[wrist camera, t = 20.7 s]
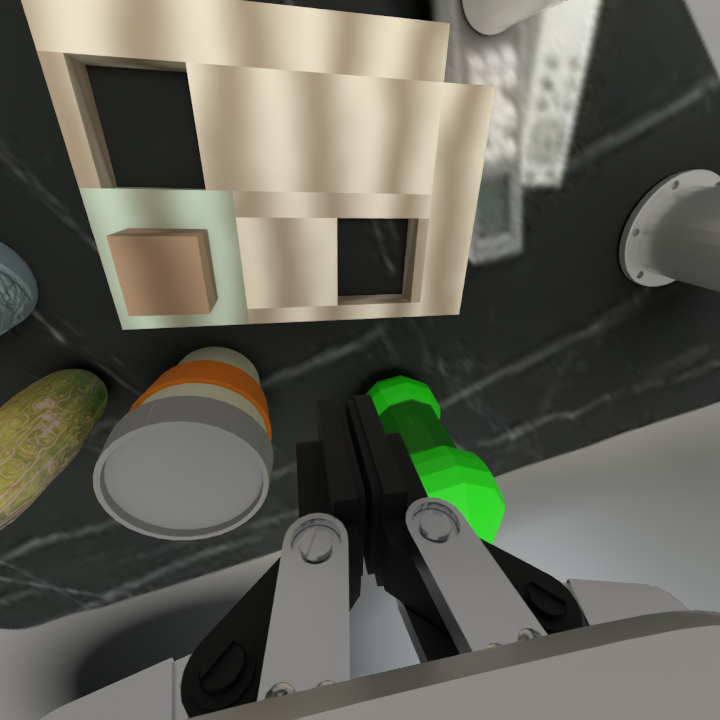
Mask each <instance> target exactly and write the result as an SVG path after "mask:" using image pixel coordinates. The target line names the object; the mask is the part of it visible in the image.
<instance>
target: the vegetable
mask: <svg viewBox="0 0 720 720" xmlns="http://www.w3.org/2000/svg"><path fill="white" fill-rule="evenodd" d="M107 398H108V393H107V388H106V386H105V384H104V383H103V381H102V380H101V379H100V378H98V377H97V376H96V375H95V374H93V373H91V372H89V371H86V370H82V369H66V370H61V371H57V372H54V373H51V374H49V375H47V376H45V377H43V378H41V379H40V380H38V381H36V382H34V383H33V384H31V385H30V386H28V387H27V388H25V389H24V390H22V391H21V392H19V393H18V394H16V395H15V396H14V397H13V398H11V399H10V400H9V401H8V402H7V403H5V404H4V405H3V406H2V407H1V408H0V530H1V529H3V528H4V527H6V526H7V525H8V524H10V523H11V522H13V521H14V520H15V519H16V518H17V517H18V516H19V515H20V514H21V513H22V512H24V511H25V510H26V509H27V508H28V507H29V506H30V505H31V504H32V503H33V502H34V501H35V499H36V498H37V497H38V496H39V495H40V494H41V493H42V492H43V491H44V490H45V488H46V487H47V486H48V485H49V484H50V483H51V482H52V481H53V480H54V479H55V478H56V477H57V476H58V475H59V474H60V473H61V472H62V471H63V470H64V469H65V468H66V467H67V466H68V464H69V463H70V462H71V461H72V460H73V458H74V457H75V456H76V455H77V454H78V452H79V451H80V450H81V448H82V447H83V445H84V444H85V442H86V441H87V439H88V437H89V436H90V434H91V433H92V431H93V429H94V427H95V426H96V424H97V422H98V421H99V419H100V418H101V416H102V414H103V412H104V410H105V407H106V404H107Z"/></svg>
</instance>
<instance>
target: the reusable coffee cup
mask: <svg viewBox="0 0 720 720" xmlns="http://www.w3.org/2000/svg"><path fill="white" fill-rule="evenodd" d="M273 460H274V459H273V448H272V445H271V425H270V419H269V412H268V406H267V401H266V398H265V394H264V392H263V390H262V389H261V386H260V379H259V375H258V372H257V370H256V368H255V367H254V365H253V364H252V363H251V362H250V360H249V359H247V358H246V357H245V356H244V355H242V354H240V353H238V352H236V351H234V350H231V349H228V348H223V347H206V348H200V349H198V350H195V351H193V352H191V353H190V354H188V355H187V356H185V357H184V358H183V359H182V360H181V361H180V362H179V364H178V365H177V366H174V367H172V368H171V369H169V370H168V371H166V372H165V373H163V374H162V375H161V376H160V377H159V378H158V379H157V380H156V381H155V382H154V383H153V384H152V385H151V386H150V387H149V388H148V390H147V391H146V392H145V393H144V394H143V395H142V396H141V397H140V398H139V399H138V400H137V401H136V402H135V403H134V404H133V406H132V407H131V409H130V411H129V412H128V413H127V414H126V415H125V416H124V417H123V418H122V419H121V420H120V421H119V422H118V423H117V424H116V425H115V426H114V428H113V430H112V431H111V433H110V435H109V437H108V439H107V441H106V443H105V445H104V447H103V450H102V452H101V454H100V456H99V458H98V461H97V463H96V466H95V470H94V474H93V486H94V491H95V493H96V496H97V499H98V501H99V502H100V504H101V505H102V507H103V508H104V509H105V511H106V512H107V513H108V514H109V515H111V516H112V517H113V518H114V519H115V520H116V521H118V522H119V523H121V524H123V525H124V526H126V527H128V528H129V529H132V530H134V531H137V532H139V533H142V534H144V535H148V536H152V537H156V538H162V539H170V540H195V539H203V538H208V537H212V536H216V535H220V534H223V533H225V532H228V531H230V530H233V529H234V528H236V527H238V526H240V525H241V524H243V523H245V522H246V521H247V520H248V519H250V518H251V517H252V516H253V515H254V514H255V513H256V512H257V511H258V509H259V508H260V507H261V506H262V504H263V502H264V500H265V498H266V496H267V491H268V487H269V481H270V476H271V471H272V466H273Z"/></svg>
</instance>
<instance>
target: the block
mask: <svg viewBox="0 0 720 720" xmlns="http://www.w3.org/2000/svg"><path fill="white" fill-rule="evenodd" d="M106 237H107V241H108V244H109V248H110V251H111V255H112V258H113V262H114V265H115V269H116V273H117V276H118V280H119V283H120V287H121V290H122V294H123V298H124V301H125V305H126V308H127V312H128V315H129V316H158V315H192V314H210V313H211V311H212V309H213V307H214V305H215V304H216V302H217V300H218V295H217V289H216V282H215V276H214V270H213V263H212V257H211V250H210V244H209V237H208V231H207V229H157V228H127V229H124V230H121V231H119V232H116V233H113V234H110V235H107V236H106Z"/></svg>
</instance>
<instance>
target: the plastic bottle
mask: <svg viewBox="0 0 720 720" xmlns="http://www.w3.org/2000/svg"><path fill="white" fill-rule="evenodd" d="M366 394H370V395H371V397H372V400H373V402H374V405H375V407H376V410H377V412H378V415H379V418H380V420H381V423H382V425H383V428H384V430H385V433H386V434H387V433H397V432H398V433H399V434H400V435H401V437H402V439H403V441H404V444H405V446H406V448H407V450H408V453H409V455H410V457H411V459H412V462H413V464H414V466H415V468H416V471H417V473H418V475H419V477H420V480H421V482H422V484H423V486H424V488H425V491H426V493H427V495H428V497H433V498H440V499H442V500H445V501H448V502H449V503H451V504H452V505H454V506H455V507H456V508H457V509H458V510H459V511H460V512H461V513H462V514H463V516H464V517H465V519H466V520H467V522H468V523H469V524H470V526H471V527H472V529H473V530H474V531H475V533H476V534H477V536H478V537H479V538H481V539H483V540H484V541H486V542H488V543H490V544H492V543H493V540H494V538H495V536H496V533H497V531H498V528H499V525H500V523H501V520H502V517H503V515H504V512H505V509H506V508H505V504H504V499H503V494H502V493H501V491H500V489H499V487H498V485H497V483H496V481H495V479H494V478H493V476H492V474H491V472H490V471H489V469H488V468H487V466H486V465H485V463H484V462H483V461H482V460H481V459H480V458H479V457H478V456H476V455H475V454H474V453H472V452H468V451H464V450H460V449H457V447H456V446H455V444H454V442H453V441H452V439H451V438H450V436H449V434H448V433H447V431H446V430H445V428H444V426H443V425H442V423H441V422H440V420H439V419H440V406H439V405H438V403H437V401H436V399H435V398H434V396H433V394H432V392H431V390H430V389H429V387H428V386H427V384H425V383H422V382H420V381H417V380H414V379H410V378H407V377H404V376H401V375H399V376H396V377H392V378H389V379H385V380H381V381H378V382H376V384H375V385H374V386H373V387H372V388H371V389H370V390H369V391H368V392H367V393H366ZM366 394H365V395H366Z"/></svg>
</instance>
